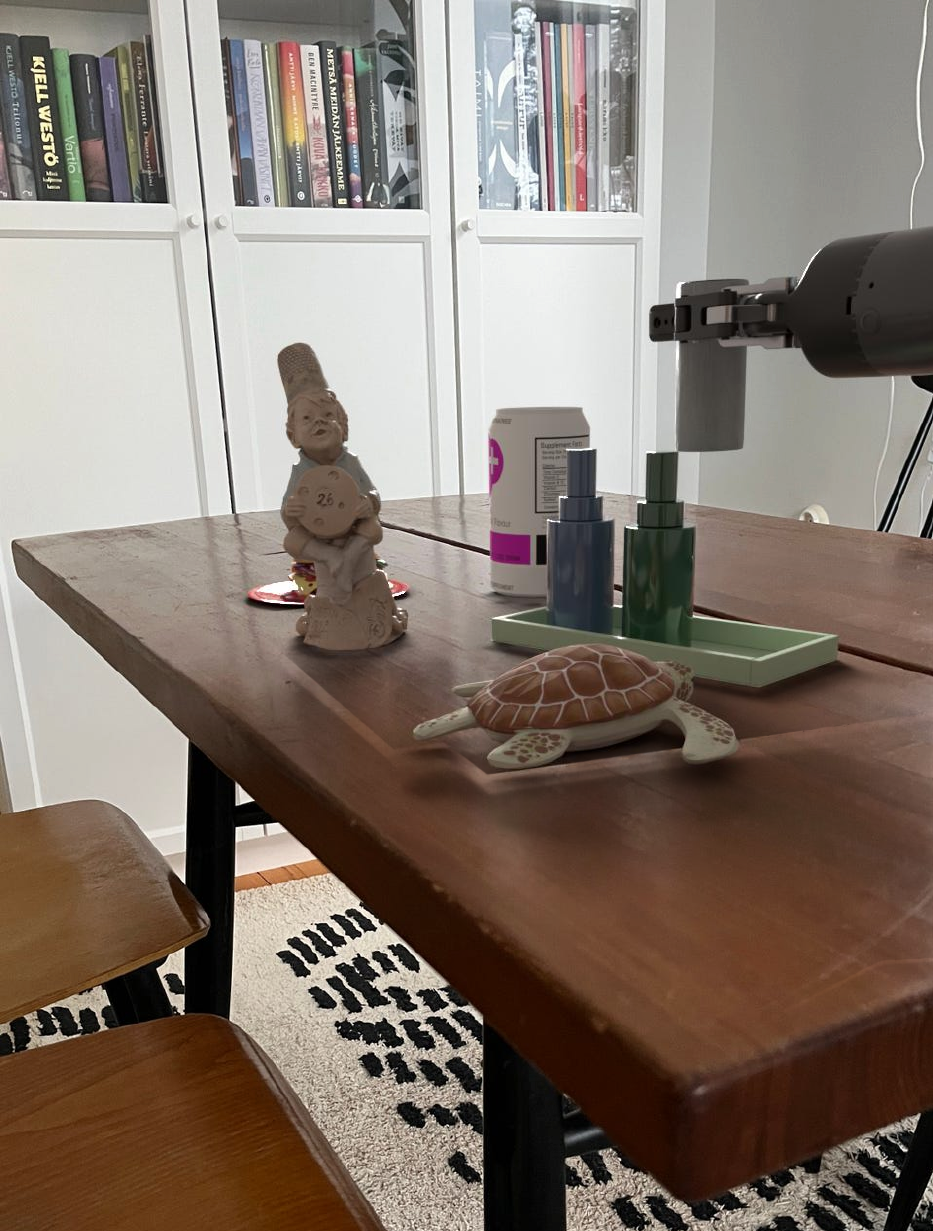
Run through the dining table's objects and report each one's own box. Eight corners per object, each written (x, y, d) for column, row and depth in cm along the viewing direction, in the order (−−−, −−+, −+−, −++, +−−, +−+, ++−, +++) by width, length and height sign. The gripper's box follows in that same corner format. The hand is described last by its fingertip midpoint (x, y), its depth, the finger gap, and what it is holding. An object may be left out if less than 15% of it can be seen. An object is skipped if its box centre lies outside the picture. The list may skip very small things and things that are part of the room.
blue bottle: (594, 627, 88) (597, 445, 84) (624, 639, 84) (629, 448, 80) (536, 633, 86) (535, 448, 82) (563, 645, 82) (564, 451, 78)
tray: (836, 666, 77) (839, 635, 76) (758, 694, 71) (760, 660, 70) (575, 626, 91) (576, 599, 90) (491, 646, 85) (491, 618, 84)
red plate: (240, 587, 111) (234, 519, 109) (391, 577, 115) (388, 511, 113) (256, 613, 99) (250, 538, 97) (425, 602, 102) (423, 528, 100)
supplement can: (483, 603, 101) (480, 410, 96) (499, 586, 108) (497, 407, 103) (582, 604, 100) (584, 408, 94) (591, 587, 107) (593, 405, 102)
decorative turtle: (827, 748, 61) (836, 648, 59) (587, 826, 51) (589, 711, 50) (574, 684, 74) (575, 601, 73) (346, 737, 65) (340, 643, 63)
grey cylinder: (667, 449, 84) (669, 285, 80) (733, 446, 84) (738, 282, 81) (683, 453, 80) (685, 280, 76) (751, 449, 80) (758, 277, 76)
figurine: (294, 633, 91) (273, 343, 84) (408, 629, 91) (396, 340, 84) (286, 660, 83) (262, 340, 75) (411, 655, 83) (399, 337, 76)
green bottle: (669, 639, 84) (676, 447, 79) (704, 652, 80) (714, 451, 75) (609, 645, 82) (612, 450, 78) (642, 659, 78) (647, 454, 74)
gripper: (984, 232, 71) (756, 262, 84) (823, 225, 63) (599, 259, 76) (971, 371, 73) (752, 379, 86) (815, 381, 65) (600, 387, 79)
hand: (682, 323), depth 81 cm, fingers closed on grey cylinder, 4 cm apart
